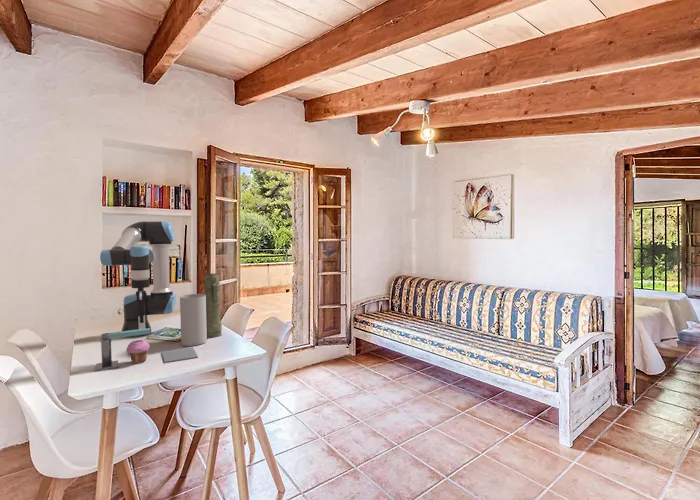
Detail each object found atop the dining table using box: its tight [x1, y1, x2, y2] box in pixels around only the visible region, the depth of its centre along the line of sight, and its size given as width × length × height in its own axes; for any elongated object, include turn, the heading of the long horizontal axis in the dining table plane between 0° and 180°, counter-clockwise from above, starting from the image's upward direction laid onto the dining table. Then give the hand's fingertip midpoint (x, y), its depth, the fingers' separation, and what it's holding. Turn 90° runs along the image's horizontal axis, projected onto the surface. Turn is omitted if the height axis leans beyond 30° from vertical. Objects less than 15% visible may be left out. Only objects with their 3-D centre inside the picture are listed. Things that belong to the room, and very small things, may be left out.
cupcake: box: [126, 339, 150, 364], centre depth 169 cm, size 9×9×10 cm
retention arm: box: [101, 328, 151, 340], centre depth 166 cm, size 3×19×2 cm, turn 121°
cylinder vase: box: [179, 293, 208, 347], centre depth 197 cm, size 12×12×25 cm
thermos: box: [204, 272, 223, 338], centre depth 211 cm, size 9×12×35 cm
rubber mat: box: [161, 346, 199, 364], centre depth 178 cm, size 16×14×1 cm
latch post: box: [94, 338, 119, 372], centre depth 163 cm, size 8×8×12 cm
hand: (142, 329), depth 175 cm, fingers closed
